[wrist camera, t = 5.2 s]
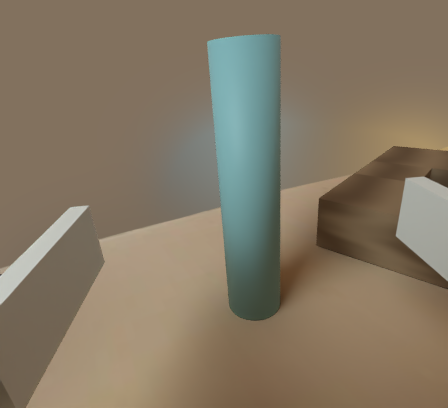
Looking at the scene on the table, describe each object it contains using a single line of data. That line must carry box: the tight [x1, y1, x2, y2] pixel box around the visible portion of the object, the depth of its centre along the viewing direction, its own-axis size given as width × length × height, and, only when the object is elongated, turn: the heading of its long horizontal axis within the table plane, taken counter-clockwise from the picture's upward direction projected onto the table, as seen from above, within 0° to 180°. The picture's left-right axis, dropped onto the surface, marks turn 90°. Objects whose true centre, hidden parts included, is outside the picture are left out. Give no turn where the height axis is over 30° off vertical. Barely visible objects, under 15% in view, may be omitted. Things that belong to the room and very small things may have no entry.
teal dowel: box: [207, 34, 280, 320], centre depth 18 cm, size 4×4×16 cm
